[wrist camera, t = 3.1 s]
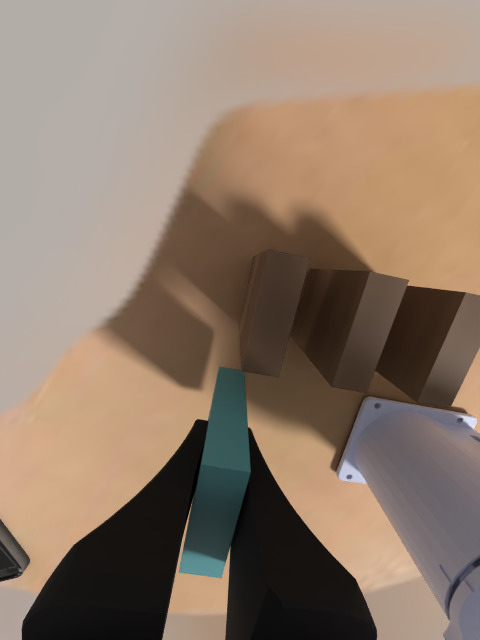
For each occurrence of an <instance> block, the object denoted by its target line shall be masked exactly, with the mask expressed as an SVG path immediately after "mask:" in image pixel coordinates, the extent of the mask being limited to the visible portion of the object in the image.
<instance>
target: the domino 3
mask: <svg viewBox="0 0 480 640" xmlns="http://www.w3.org/2000/svg"><path fill="white" fill-rule="evenodd" d="M479 348H480V295H475V294H470V293H466V292H457V291H449V290H440V289H432V288H423V287H415V286H407V287H406V290H405V292H404V295H403V298H402V300H401V303H400V305H399V308H398V311H397V313H396V316H395V319H394V321H393V324H392V327H391V329H390V332H389V335H388V337H387V340H386V342H385V345H384V348H383V350H382V353H381V356H380V358H379V361H378V364H377V366H376V369H375V371H376V372H378V373H379V374H380V375H382V376H383V377H384V378H386V379H387V380H388V381H390V382H391V383H392V384H394V385H395V386H396V387H398V388H399V389H400V390H402V391H403V392H404V393H405V394H407V395H408V396H409V397H411V398H412V399H413V400H415V401H416V402H418V403H424V404H429V405H435V406H441V407H446V408H450V407H451V405H452V403H453V401H454V399H455V397H456V395H457V393H458V391H459V389H460V387H461V385H462V383H463V381H464V379H465V377H466V374H467V372H468V370H469V368H470V366H471V364H472V362H473V360H474V358H475V356H476V354H477V352H478V350H479Z"/></svg>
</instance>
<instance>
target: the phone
mask: <svg viewBox="0 0 480 640" xmlns="http://www.w3.org/2000/svg"><path fill="white" fill-rule="evenodd" d="M29 563H30V559H29V557H28V555H27V554H26V553H25V551H24V550H23V549H22V547H21V546H20V545H19V543H18V542H17V541H16V539H15V538H14V537H13V535H12V534H11V533H10V531H9V530H8V529H7V527H6V526H5V525H4V523H3V522H2V521H1V519H0V582H1V581H5V580H9V579H13V578H17V577H19V576H21V575H22V573H23V572H24V570H25V569H26V568H27V566H28V565H29Z"/></svg>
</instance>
